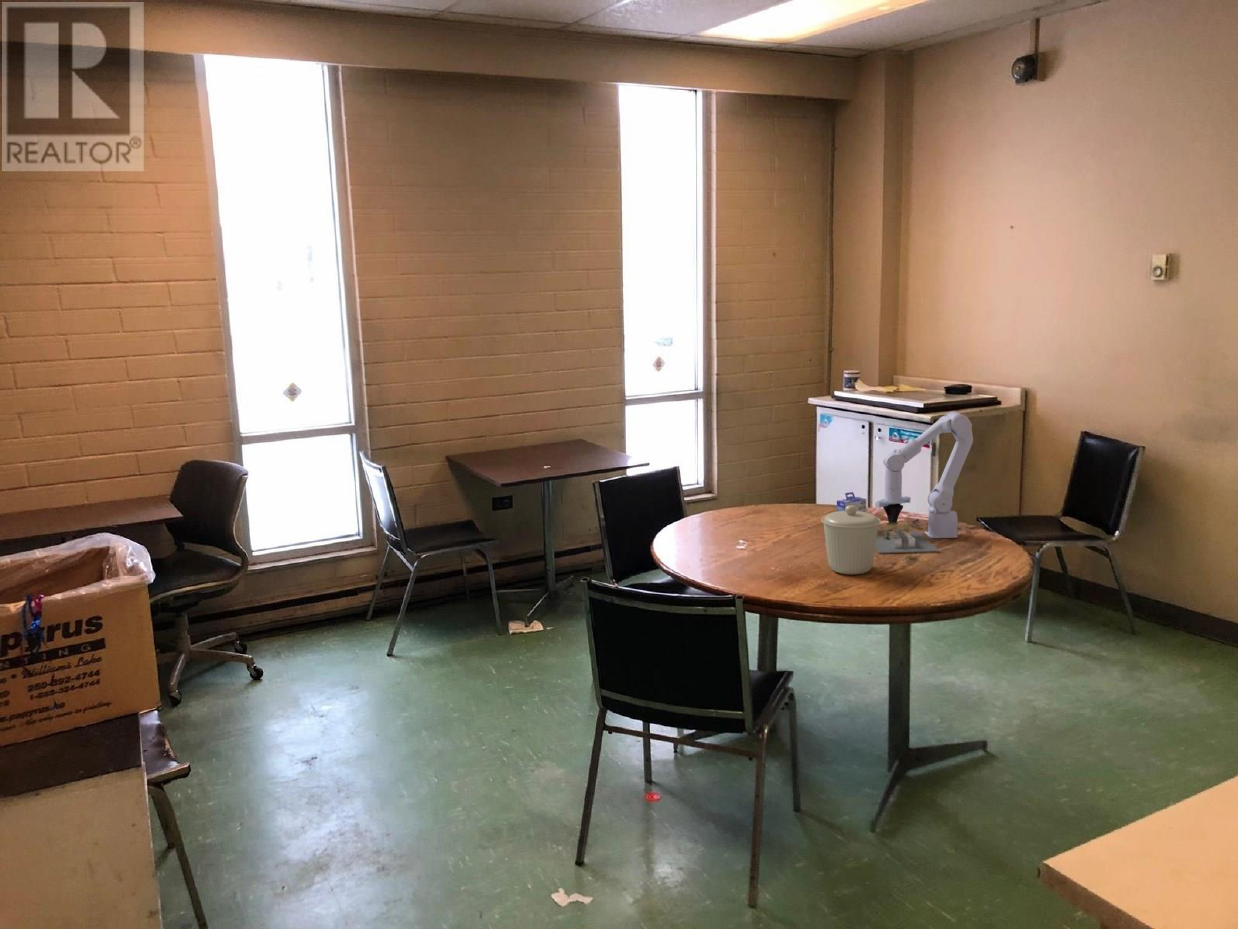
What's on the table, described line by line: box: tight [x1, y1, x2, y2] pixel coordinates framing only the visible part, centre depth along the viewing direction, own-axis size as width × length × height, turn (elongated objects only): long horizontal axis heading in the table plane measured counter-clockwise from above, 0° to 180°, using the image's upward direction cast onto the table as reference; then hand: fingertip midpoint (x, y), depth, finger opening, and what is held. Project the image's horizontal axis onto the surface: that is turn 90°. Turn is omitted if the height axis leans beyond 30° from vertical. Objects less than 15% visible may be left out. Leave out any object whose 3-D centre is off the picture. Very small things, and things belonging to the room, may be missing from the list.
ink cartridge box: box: [836, 491, 867, 513], centre depth 352 cm, size 10×6×14 cm, turn 115°
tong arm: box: [887, 529, 902, 548], centre depth 336 cm, size 2×16×3 cm, turn 177°
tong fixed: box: [896, 529, 915, 548], centre depth 336 cm, size 2×16×3 cm, turn 179°
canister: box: [821, 505, 882, 575], centre depth 306 cm, size 18×18×21 cm
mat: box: [875, 530, 941, 555], centre depth 337 cm, size 20×26×1 cm
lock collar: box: [881, 521, 910, 539], centre depth 341 cm, size 8×3×5 cm, turn 89°
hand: (892, 524), depth 344 cm, fingers closed
